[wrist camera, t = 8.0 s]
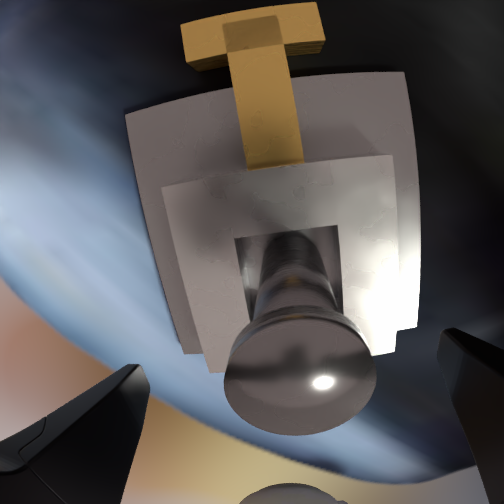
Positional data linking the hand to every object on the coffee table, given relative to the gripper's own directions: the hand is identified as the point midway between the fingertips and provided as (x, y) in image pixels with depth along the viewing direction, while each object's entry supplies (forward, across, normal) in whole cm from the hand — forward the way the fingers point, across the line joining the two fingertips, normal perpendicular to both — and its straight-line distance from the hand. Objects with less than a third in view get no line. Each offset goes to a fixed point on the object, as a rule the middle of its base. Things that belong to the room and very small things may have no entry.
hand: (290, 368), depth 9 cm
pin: (+8, 0, 0) cm, 8 cm away
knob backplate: (+9, 0, -4) cm, 9 cm away
